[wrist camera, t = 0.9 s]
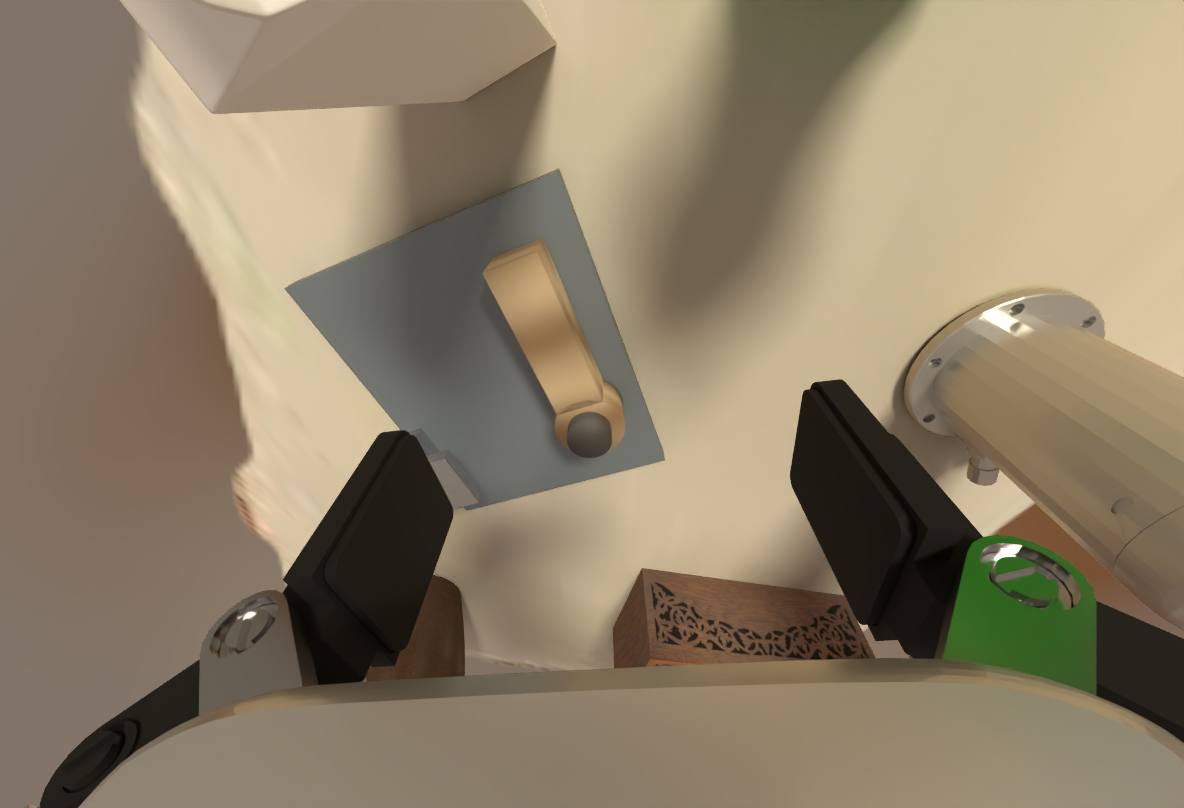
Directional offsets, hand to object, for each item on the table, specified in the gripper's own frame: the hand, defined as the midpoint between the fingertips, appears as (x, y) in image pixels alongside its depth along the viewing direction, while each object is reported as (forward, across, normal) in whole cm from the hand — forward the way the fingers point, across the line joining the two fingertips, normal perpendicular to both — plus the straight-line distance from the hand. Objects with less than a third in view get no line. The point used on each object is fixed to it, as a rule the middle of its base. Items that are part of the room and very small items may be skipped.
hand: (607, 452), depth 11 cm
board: (+21, +10, +10) cm, 25 cm away
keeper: (+21, +16, +15) cm, 30 cm away
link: (+19, +4, +7) cm, 21 cm away
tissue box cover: (+22, -9, +49) cm, 54 cm away
